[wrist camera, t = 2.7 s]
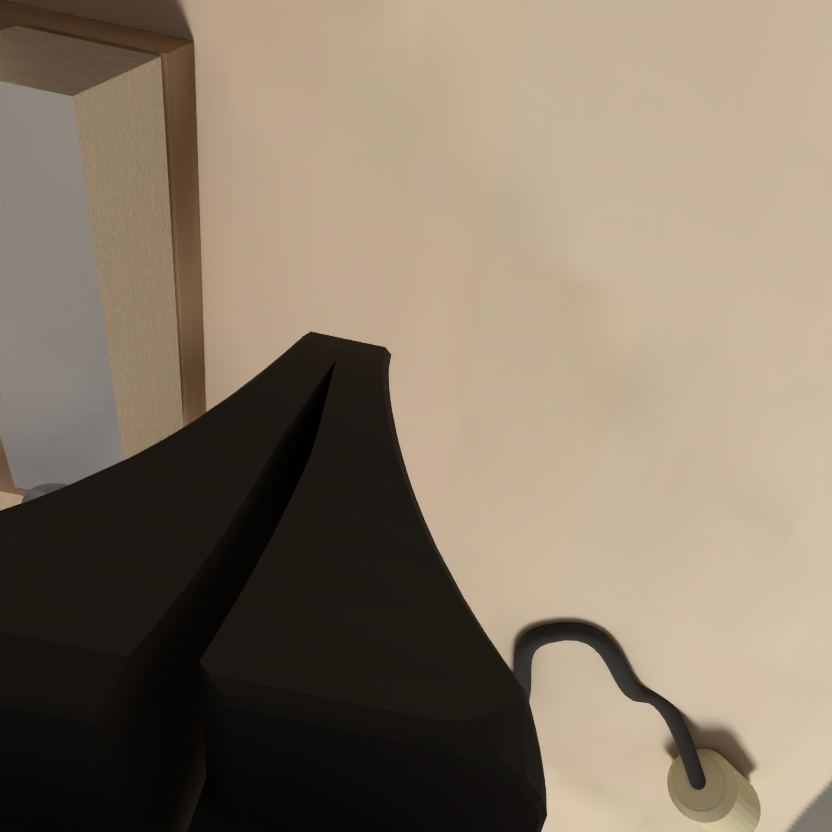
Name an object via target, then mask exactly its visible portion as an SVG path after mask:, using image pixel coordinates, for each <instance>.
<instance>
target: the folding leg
mask: <svg viewBox="0 0 832 832" xmlns="http://www.w3.org/2000/svg"><path fill="white" fill-rule="evenodd" d="M182 427H183V414H182V397H181V381H180V364H179V348H178V332H177V315H176V299H175V282H174V266H173V249H172V233H171V216H170V200H169V183H168V167H167V151H166V134H165V118H164V101H163V85H162V68H161V57H160V56H156V55H151V54H146V53H142V52H137V51H132V50H128V49H123V48H118V47H114V46H109V45H104V44H99V43H95V42H90V41H85V40H81V39H76V38H71V37H67V36H62V35H57V34H53V33H48V32H43V31H38V30H34V29H29V28H24V27H20V26H15V27H11V28H7V29H3V30H0V437H1V440H2V444H3V447H4V451H5V454H6V458H7V461H8V465H9V468H10V472H11V475H12V479H13V482H14V486H15V487H18V488H22V489H27V490H28V492H27V493H26V494H25V495H24V497H23V499H22V503H24V502H27V501H29V500H32V499H35V498H37V497H40V496H42V495H45V494H48V493H50V492H53V491H55V490H58V489H60V488H63V487H65V486H68V485H70V484H72V483H75V482H77V481H79V480H81V479H83V478H86V477H88V476H90V475H92V474H95V473H97V472H99V471H101V470H103V469H106V468H108V467H110V466H112V465H115V464H117V463H119V462H121V461H123V460H126V459H128V458H130V457H132V456H134V455H136V454H138V453H139V452H141V451H143V450H145V449H147V448H149V447H150V446H152V445H154V444H156V443H158V442H160V441H161V440H163V439H165V438H166V437H168V436H170V435H172V434H173V433H175V432H177V431H178V430H180V429H181V428H182Z"/></svg>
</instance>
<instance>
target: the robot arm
mask: <svg viewBox="0 0 832 832" xmlns="http://www.w3.org/2000/svg"><path fill="white" fill-rule="evenodd" d="M390 358H391V354H390V353H389V352H388V350H387V349H386V347H381V346H377V345H372V344H367V343H362V342H357V341H353V340H348V339H343V338H338V337H334V336H329V335H324V334H319V333H315V332H310V333H308V334H306V335H305V336H303V337H302V338H301V339H300V340H299V341H297V342H296V343H295V344H294V345H293V346H292V347H291V348H289V349H288V350H287V351H286V352H285V353H284V354H283V355H281V356H280V357H279V358H278V359H277V360H275V361H274V362H273V363H272V364H271V365H269V366H268V367H267V368H266V369H265V370H263V371H262V372H261V373H260V374H258V375H257V376H256V377H254V378H253V379H252V380H250V381H249V382H248V383H246V384H245V385H244V386H243V387H241V388H240V389H239V390H237V391H236V392H235V393H233V394H232V395H231V396H229V397H228V398H227V399H225V400H224V401H222V402H221V403H219V404H218V405H216V406H215V407H213V408H212V409H210V410H209V411H207V412H206V413H204V414H203V415H201V416H200V417H199V418H197V419H196V420H194V421H193V422H191V423H190V424H188V425H186V426H185V427H183V428H181V429H180V430H178V431H177V432H175V433H173V434H172V435H170V436H168V437H166V438H165V439H163V440H161V441H160V442H158V443H156V444H154V445H152V446H150V447H149V448H147V449H145V450H143V451H141V452H139V453H138V454H136V455H134V456H132V457H130V458H128V459H126V460H123V461H121V462H119V463H117V464H115V465H112V466H110V467H108V468H106V469H103V470H101V471H99V472H97V473H95V474H92V475H90V476H88V477H86V478H83V479H81V480H79V481H77V482H75V483H72V484H70V485H68V486H65V487H63V488H60V489H58V490H55V491H53V492H50V493H48V494H45V495H42V496H40V497H37V498H35V499H32V500H29V501H27V502H24V503H21V504H18V505H15V506H13V507H10V508H7V509H4V510H1V511H0V832H541V830H542V827H543V825H544V822H545V819H546V817H547V808H546V787H545V778H544V771H543V765H542V758H541V752H540V747H539V742H538V737H537V732H536V728H535V724H534V720H533V716H532V712H531V708H530V704H529V700H528V697H527V693H526V690H525V689H524V687H523V686H522V685H521V683H520V682H519V680H518V679H517V678H516V676H515V675H514V674H513V672H512V671H511V669H510V668H509V667H508V665H507V664H506V662H505V661H504V660H503V658H502V657H501V655H500V654H499V652H498V651H497V649H496V648H495V646H494V645H493V643H492V642H491V640H490V639H489V638H488V636H487V635H486V633H485V632H484V630H483V628H482V627H481V625H480V623H479V622H478V620H477V619H476V617H475V615H474V614H473V612H472V610H471V609H470V607H469V606H468V604H467V602H466V601H465V599H464V598H463V596H462V594H461V592H460V590H459V588H458V586H457V584H456V583H455V581H454V579H453V577H452V575H451V573H450V571H449V569H448V568H447V566H446V564H445V562H444V560H443V558H442V556H441V554H440V552H439V551H438V549H437V547H436V545H435V542H434V540H433V538H432V536H431V533H430V531H429V529H428V527H427V524H426V522H425V520H424V517H423V515H422V512H421V510H420V507H419V505H418V502H417V500H416V497H415V494H414V492H413V489H412V486H411V483H410V480H409V477H408V474H407V471H406V467H405V464H404V460H403V457H402V453H401V450H400V446H399V442H398V438H397V433H396V428H395V423H394V418H393V413H392V407H391V401H390V391H389V364H390Z"/></svg>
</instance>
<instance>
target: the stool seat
mask: <svg viewBox="0 0 832 832" xmlns="http://www.w3.org/2000/svg"><path fill="white" fill-rule="evenodd" d="M15 26H20V27H24V28H29V29H34V30H38V31H43V32H48V33H53V34H57V35H62V36H67V37H71V38H76V39H81V40H85V41H90V42H95V43H99V44H104V45H109V46H114V47H118V48H123V49H128V50H132V51H137V52H142V53H146V54H151V55H156V56H160V57H161V68H162V85H163V101H164V118H165V134H166V151H167V167H168V183H169V200H170V216H171V233H172V249H173V266H174V282H175V299H176V315H177V332H178V348H179V364H180V381H181V397H182V414H183V427H185V426H186V425H188V424H190V423H191V422H193V421H194V420H196V419H197V418H199V417H200V416H201V415H203V414H204V413H206V399H205V369H204V339H203V308H202V278H201V247H200V217H199V187H198V156H197V126H196V96H195V65H194V42H193V41H188V40H184V39H179V38H174V37H170V36H165V35H160V34H156V33H151V32H146V31H141V30H137V29H132V28H127V27H123V26H118V25H113V24H109V23H104V22H99V21H95V20H90V19H85V18H81V17H76V16H71V15H67V14H62V13H57V12H52V11H48V10H43V9H38V8H34V7H29V6H24V5H20V4H15V3H10V2H6V1H1V0H0V30H3V29H7V28H11V27H15ZM183 427H182V428H183ZM0 491H3V492H8V493H13V494H18V495H23V496H24V495H25V494H26V493H27V492H28V490H27V489H22V488H18V487H15V486H14V482H13V479H12V475H11V472H10V468H9V465H8V461H7V458H6V454H5V451H4V447H3V444H2V440H1V437H0Z"/></svg>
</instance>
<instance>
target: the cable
mask: <svg viewBox="0 0 832 832" xmlns="http://www.w3.org/2000/svg"><path fill="white" fill-rule="evenodd" d="M563 640H571V641H579V642H583V643H586V644H588V645H589V646H591V647H592V648H594V649H595V650H596V651H597V652H598V653H599V654H600V656H601V657H602V658H603V660H604V661H605V663H606V665H607V666H608V668H609V670H610V672H611V674H612V676H613V678H614V680H615V681H616V683H617V685H618V687H619V688H620V689H621V691H622V692H623V693H624V694H625V695H626V696H627V697H629V698H630V699H631V700H633V701H637V702H643V703H649V704H651V705H653V706H654V707H655V708H656V709H657V710H658V711H659V712H660V714H661V715H662V717H663V718H664V719H665V721H666V723H667V725H668V727H669V729H670V731H671V733H672V735H673V737H674V740H675V742H676V745H677V747H678V750H679V753H680V754H679V755H678V756H677V757H676V758H675V760H674V761H673V762H672V764H671V766H670V769H669V772H668V779H667V783H668V790H669V794H670V797H671V799H672V801H673V803H674V804H675V806H676V807H677V809H678V810H679V811H680V812H681V813H682V814H683V815H685V816H686V817H687V818H689V819H690V820H691V821H692V822H694V823H695V824H696V825H698V826H699V827H700V828H702V829H703V830H704V831H705V832H754V830H755V829H756V827H757V825H758V823H759V819H760V802H759V799H758V796H757V793H756V791H755V790H754V788H753V786H752V785H751V784H750V783H749V782H748V780H746V779H745V778H744V777H743V776H742V775H741V774H740V773H739V772H738V771H737V770H736V769H735V768H734V767H733V766H732V765H731V764H730V763H729V762H728V761H727V760H726V759H725V758H724V757H722V756H721V755H720V754H718V753H717V752H715V751H713V750H710V749H696V748H695V745H694V743H693V740H692V738H691V735H690V733H689V731H688V728H687V726H686V724H685V722H684V720H683V718H682V716H681V714H680V713H679V711H678V710H677V709H676V708H675V707H674V706H673V705H672V704H671V703H670V702H669V701H667V700H666V699H665V698H663V697H662V696H660V695H658V694H657V693H655V692H653V691H651V690H649V689H647V688H645V687H643V686H641V685H639V684H638V683H637V682H636V681H635V679H634V678H633V676H632V674H631V673H630V671H629V669H628V667H627V664H626V663H625V661H624V659H623V657H622V655H621V653H620V652H619V650H618V649H617V647H616V646H615V644H614V643H613V642H612V641H611V640H610V639H609V638H608V637H607V636H606V635H605V634H604V633H603V632H601V631H599V630H598V629H596V628H594V627H592V626H588V625H585V624H581V623H570V622H560V623H554V624H549V625H543V626H540V627H537V628H535V629H532V630H530V631H529V632H528V633H527V634H526V635H524V636H523V637H522V639H521V640H520V642H519V644H518V645H517V649H516V652H515V657H514V675H515V676H516V678H517V679H518V680H519V682H520V683H521V685H522V686H523V687H524V689H525V690H526V693H527V697H528V700H529V699H530V693H531V664H532V658H533V655H534V653H535V651H536V650H537V649H538V648H539V647H541V646H543V645H545V644H548V643H553V642H558V641H563Z"/></svg>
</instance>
